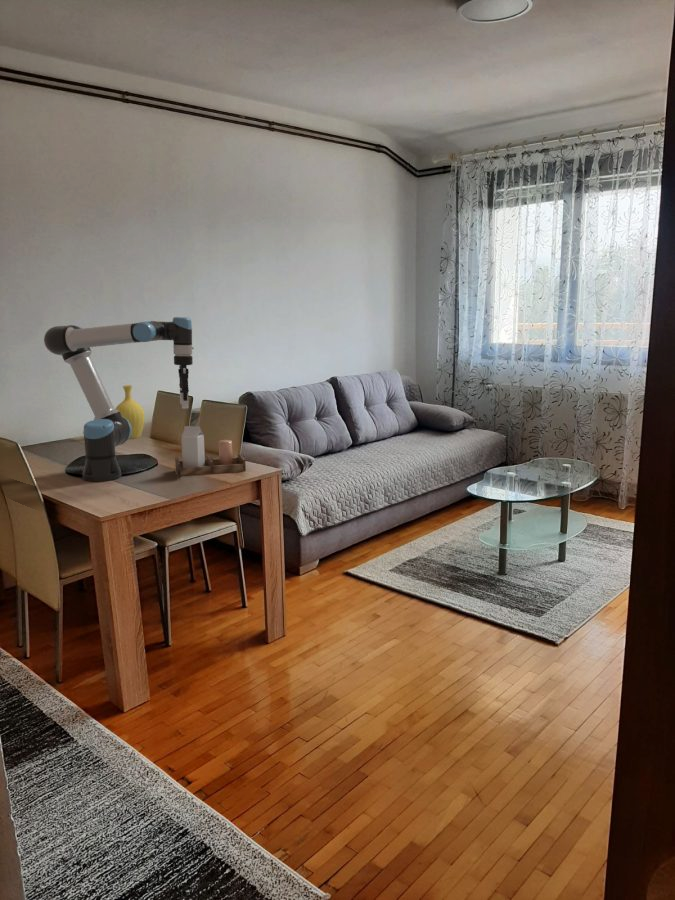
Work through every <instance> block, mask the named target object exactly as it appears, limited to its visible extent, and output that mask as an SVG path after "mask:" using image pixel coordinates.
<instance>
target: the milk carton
mask: <svg viewBox="0 0 675 900" xmlns="http://www.w3.org/2000/svg"><path fill="white" fill-rule="evenodd" d="M180 437H181V455H182V458H181V459H182V460H181V461H183V468H185V467H201V466H205V459H206V457H205V455H206V454H205V453H206V452H205V435H204V433H203V431H202V430H201V426H190V425H187V426H186V425H185V426H184V429H183V431H182V434H181V436H180Z"/></svg>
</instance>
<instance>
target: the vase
mask: <svg viewBox="0 0 675 900" xmlns="http://www.w3.org/2000/svg"><path fill="white" fill-rule="evenodd" d="M122 388H123V391H124V395H125V396H124V400H122V402H120V403H119V404H117V406H116V407H115V409H116V410H119V411H120V413H121V415H122V417H123V418H125V419H127V420H128V421H129V423H130V425H131V429H132V432H131V436H130V438H129V439H128V440H130V439H138V438H140V437H141V436H142V433H143V430H144V426H145V420H146V414H145V413H146V412H145V410H144V409H143V406H142V405H140V403H138V402H136V401H135V400H133V398H132V394H131V393H132V388H133V385H131V384H127V385H123V386H122Z"/></svg>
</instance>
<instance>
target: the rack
mask: <svg viewBox="0 0 675 900" xmlns="http://www.w3.org/2000/svg"><path fill="white" fill-rule="evenodd" d="M174 459H175V472H176V476H177V479H181V478H182V477H181V476H195V475H208V474H209V475H210V474H223V473H224V474H225V473H237V472H238V473H239V472H246V468H247V467H246V459H245V457H244V456H243V455H242V453H241V452H237V456H236V457H232V460H233V464H232V465H219V458H212V457H211V455H210V454H206V458H205V466H201V467H185V468H183V461H182V460H180V459H179V457H178V456H174Z"/></svg>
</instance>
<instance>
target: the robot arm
mask: <svg viewBox="0 0 675 900" xmlns="http://www.w3.org/2000/svg"><path fill="white" fill-rule="evenodd" d="M153 341H172V342H173V346H172V347H173V365H176V366H179V367H178V378H179V404H181V409H182V410H183V409H189V405H190V404H189V401H190V399H189V398H190V397H189V392H190V390H189V373H190V372H189V368H187V367H188V366H192V365H193V356H192V355H193V350H194V346H193V325H192V319H191V318H190V317H189V316H188V317H187V316H186V317H185V316H184V317H179V316H177V317H176V316H174V317H172V321H159V320H158V321H155V320H151V321H150V320H149V321H140V322H135V323H123V324H115V325H114V324H113V325H107V326H103V325H102V326H95V327H94V326H92V327H84V328H83V327H81V326H79V325H73V324H72V325H71V324H69V325H57V326H56V325H55V326H53V327H50V328H49V329H48V330H47V331H46V332H45V334H44V337H43V342H44V345H45V348H46V349H47V350H48V351H49V352H50V353H51V354H54V355H58V356H61V357H62V359H63V361H64V363H67V364H69V365H70V367H71V369H72V372H73V374H74V375H75V377H76V380H77V382H78V384H79V386H80V389H81V390H82V392H83V394H84V396H85V398H86V401H87V403H88V404H89V407H90V408H91V411H92V412H93V413H92V414H93V415H94V418H93V419H92V420H89V421H87V422H86V423H85V424H84V425H83V433H82V434H83V439H84V441H83V442H84V451H85V462H84V467H83V470H82V475H81V476H82V480H83V481H87V482H107V481H113V480H117V479H120V478H121V477H122V471H121V467H120V465H119V463H118V460H117V457H116V447H118V446H122V445H123V444H125V443H126V442H127V441H128V440H130V439H129V438H130V436H131V432H132V429H131V425H130V423H129V421H128V420H127V419H125V418H123V417H122V415H121V413H120V411H119V410H116V408H115V407H114V405H113V402H112V401H111V398H110V397H109V396H110V395H108V393H107V390H106V388H105V386H104V384H103V381H102V380H101V378H100V374H99V373H98V371H97V369H96V367H95V365H94V362H93V361H92V358H91V355H92V350H91V348H95V347H105V346H106V347H107V346H115V345H124V344H133V343H134V344H135V343H147V342H148V343H149V342H153Z"/></svg>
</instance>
